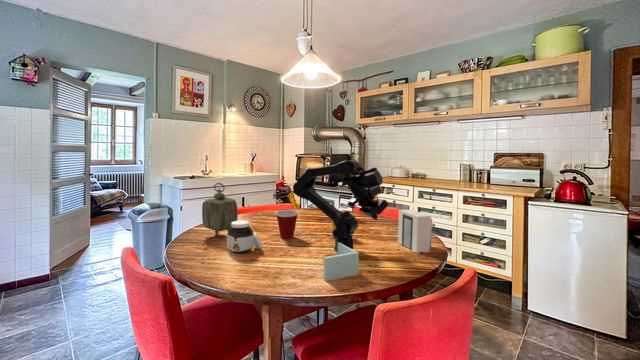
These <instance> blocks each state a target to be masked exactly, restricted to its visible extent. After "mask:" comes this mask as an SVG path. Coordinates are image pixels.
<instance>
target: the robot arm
mask: <svg viewBox="0 0 640 360" xmlns="http://www.w3.org/2000/svg"><path fill="white" fill-rule="evenodd" d="M331 175H332V176H333V175H339V176H344V177H343V179H342V183H341V187H344V186H347V187H348V189H349V190H350V192H351V194H352V195H351V198H350V199H349V200H348V202H347V205H348V207H349V208H350V209H355V208H356V206H357V207H358V211H359V212H361V213H363V214H364V215H366V216H368V217H369V218H371V219H373V220H374V221H377V220H378V215H381V214H382V213H383V212H384V211H385V209H387V208H388V206H389V203H388V200H387V199H382V198H377V199H376V196H378V195H381V194H383V193H382V188H381V185H382V184H383V182H384V181H383V177H382V174H381V173H380V171H379V170H378V168H377V167H372V168H369V169H368V170H366V169H364V168H363V167H362V166H361V165H360V163H359V162H358V160H355V159H351V160H349V159H348V160H344V161H341V162H338V163H336V164H334V165H327V166H320V167H312V168H311V167H310V168H307V169H306V170H305V172H304V173H303V174H302V175H301V176H300V177H299V178H298V179H297V180H296V182H294V184H293V186H292V193H294V195H295V196H297V197H298V198H301V199H303V200H307V201H308V202H310V203H311V204H312V205H313V206H315V207H316V208H317V209H318V210H319V211H321V212H322V213H323V214H325V215H326V216H327V217H328V218H330V220H331V221H332V220H333V222H334V224H335V226H336V229H335V230H334V231H333V232H332V231H331V234H332V233H333V236H334V237H333V238H334V247H333V250H335V252H337V253H338V243H341V244H343V245H345V246H347V247H349V248H351V249H353V250H354V239H353V235H354V234H355V231H356V230H357V229H358V228H359V221H358V219H357V218H356V215H352V213H351V212H350V211H344V213H342V212H340V211H339V210H338V209H339V208H337V207H335V206H334V205H332V204H331V202H329V201H328V200H327V199H325V198H324V197H323V196H322V195H320V194H319V193H318V192H317V191H316V189H315V186H314V185H315V183H316V179H317V178H318V177H323V176H331ZM345 176H349V177H345ZM355 204H356V206H355Z"/></svg>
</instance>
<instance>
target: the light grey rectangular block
mask: <svg viewBox="0 0 640 360" xmlns="http://www.w3.org/2000/svg"><path fill="white" fill-rule="evenodd" d="M432 229H433V219H432V218H431V226H430V248H431V247H432V232H433V231H432ZM403 245H404V247H406V248H408V249H409V250H410V246H411V219H409V218H404V244H403ZM403 245H402V246H403Z"/></svg>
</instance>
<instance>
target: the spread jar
mask: <svg viewBox="0 0 640 360" xmlns="http://www.w3.org/2000/svg"><path fill="white" fill-rule="evenodd" d="M226 245H227V248H228V250H229V252H230V253H232V254H235V255H244V254H247V253H249V252H250V251H252V250H253V248H254V247H255V248H256V250H260V249H261V248H263V243H262V240H261V238H260V236H259V235H258V234H257V233H256V232H254V231H253V229H252V227H250V221H248V220H237V221H234V222H232V223H231V228H230V229H229V231H227V233H226Z"/></svg>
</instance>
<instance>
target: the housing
mask: <svg viewBox="0 0 640 360" xmlns="http://www.w3.org/2000/svg"><path fill="white" fill-rule="evenodd" d="M404 218H409V219H411V246H410V249H409V250H410V251H412V252H413V251H414V253H415V252H416V253H415V254H420V252H423V253H430V248H431V247H430V226H431V219H432V217H431V215H429V214H426V213H422V212H419V211H417V210H413V209H399V210H398V222H397V223H398V227H397V228H398V230H397V244H399V245H402V246H403V244H404Z"/></svg>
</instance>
